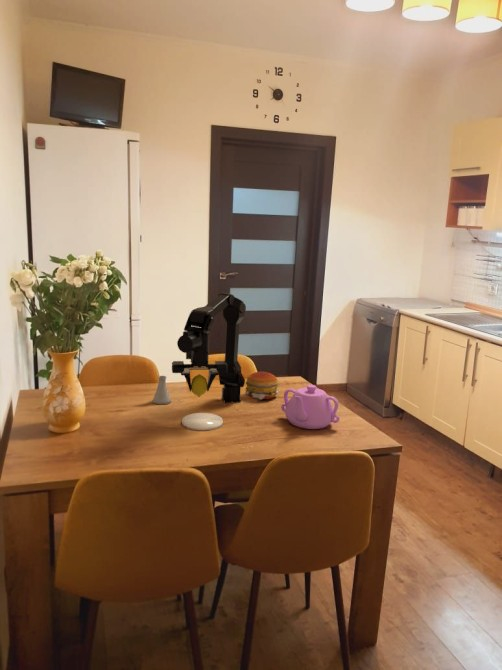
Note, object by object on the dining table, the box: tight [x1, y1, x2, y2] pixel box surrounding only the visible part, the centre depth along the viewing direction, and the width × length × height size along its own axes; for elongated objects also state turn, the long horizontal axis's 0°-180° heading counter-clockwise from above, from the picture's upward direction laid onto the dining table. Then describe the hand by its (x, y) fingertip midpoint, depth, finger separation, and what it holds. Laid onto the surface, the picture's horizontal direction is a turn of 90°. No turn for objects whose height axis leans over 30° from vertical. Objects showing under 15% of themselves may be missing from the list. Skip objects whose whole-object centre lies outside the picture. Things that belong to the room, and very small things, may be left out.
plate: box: [181, 412, 224, 432], centre depth 182 cm, size 14×14×1 cm
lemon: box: [191, 374, 208, 397], centre depth 180 cm, size 6×6×8 cm
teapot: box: [280, 384, 341, 430], centre depth 183 cm, size 22×22×14 cm
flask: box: [152, 375, 172, 405], centre depth 200 cm, size 7×7×10 cm
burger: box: [245, 371, 279, 400], centre depth 212 cm, size 13×14×10 cm
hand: (199, 391), depth 181 cm, fingers closed on lemon, 5 cm apart
